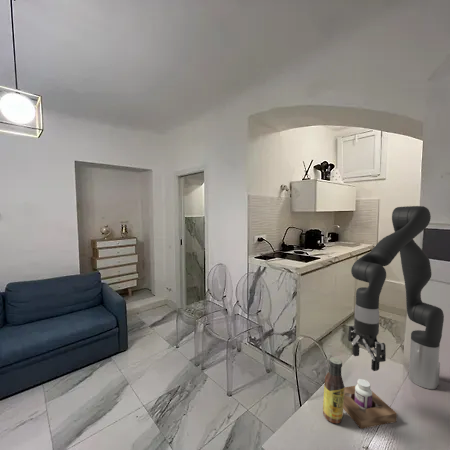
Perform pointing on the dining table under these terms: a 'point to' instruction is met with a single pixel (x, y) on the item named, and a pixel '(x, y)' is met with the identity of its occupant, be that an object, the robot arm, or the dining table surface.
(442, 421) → the dining table surface
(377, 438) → the dining table surface
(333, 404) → the sauce bottle
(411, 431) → the dining table surface
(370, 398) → the pill bottle
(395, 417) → the mount
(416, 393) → the dining table surface
